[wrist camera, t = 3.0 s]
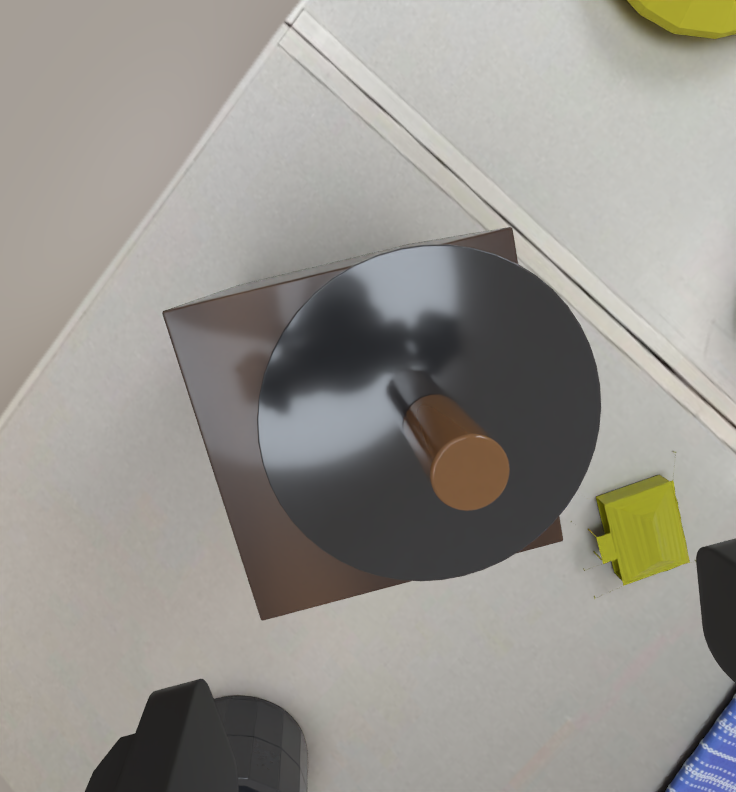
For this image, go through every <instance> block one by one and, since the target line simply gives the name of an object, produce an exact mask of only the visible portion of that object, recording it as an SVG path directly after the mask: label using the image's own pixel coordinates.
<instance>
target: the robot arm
mask: <svg viewBox="0 0 736 792" xmlns="http://www.w3.org/2000/svg"><path fill="white" fill-rule="evenodd" d="M696 564H697V574H698V584H699V594H700V605H701V615H702V625H703V632H704V636H705V639H706V642H707V645H708V647H709V649H710V651H711V653H712V655H713V657H714V658H715V660H716V662H717V663H718V665H719V666H720V667H721V668H722V670H723V671H724V672H725V673H726V674H727V675H728V676H729V677H730V678H731V679H732V680H733V681H734V682H735V683H736V539H732V540H728V541H724V542H720V543H717V544H713V545H709V546H705V547H702V548H700V549H699V551H698V552H697V557H696ZM85 792H239V788H238V774H237V768H236V762H235V758H234V755H233V752H232V749H231V746H230V744H229V741H228V738H227V735H226V732H225V730H224V727H223V724H222V721H221V719H220V716H219V713H218V710H217V707H216V705H215V702H214V699H213V696H212V694H211V691H210V688H209V686H208V684H207V683H206V681H205V680H203V679H199V680H195V681H191V682H187V683H183V684H180V685H176V686H172V687H168V688H165V689H161V690H157V691H154V692H153V693H152V694H151V695H150V696H149V699H148V701H147V704H146V706H145V709H144V712H143V714H142V717H141V720H140V722H139V725H138V728H137V730H136V733H135V734H132V735H128V736H124V737H121V738H120V739H119V740H118V741H117V742H116V744H115V745H114V746H113V747H112V749H111V750H110V751H109V752H108V754H107V755H106V756H105V758H104V759H103V760H102V761H101V763H100V764H99V765H98V766H97V768H96V769H95V770H94V772H93V774H92V776H91V778H90V781H89V783H88V785H87V788H86V790H85Z"/></svg>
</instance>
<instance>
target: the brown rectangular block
mask: <svg viewBox="0 0 736 792" xmlns="http://www.w3.org/2000/svg"><path fill="white" fill-rule="evenodd" d="M445 244H449V245H456V246H464V247H472V248H476V249H479V250H483V251H486V252H490V253H494V254H496V255H499V256H501V257H503V258H506V259H508V260H510V261H512V262H515V263H517V264H518V260H517V254H516V248H515V242H514V236H513V230H512V228H511V227H508V228H502V229H496V230H490V231H484V232H478V233H472V234H466V235H460V236H454V237H448V238H442V239H436V240H430V241H424V242H418V243H412V244H407V245H403V246H399V247H395V248H391V249H387V250H382V251H378V252H374V253H370V254H366V255H362V256H358V257H353V258H349V259H345V260H341V261H337V262H333V263H329V264H324V265H320V266H316V267H312V268H308V269H304V270H300V271H295V272H291V273H287V274H283V275H279V276H275V277H271V278H266V279H262V280H258V281H254V282H250V283H246V284H242V285H238V286H235V287H232V288H229V289H226V290H223V291H220V292H217V293H214V294H211V295H209V296H206V297H203V298H200V299H197V300H194V301H191V302H188V303H185V304H182V305H179V306H177V307H174V308H171V309H168V310H165V311H163V317H164V320H165V323H166V326H167V329H168V332H169V335H170V339H171V342H172V345H173V348H174V351H175V354H176V357H177V360H178V363H179V367H180V370H181V373H182V376H183V379H184V382H185V385H186V388H187V391H188V395H189V398H190V401H191V404H192V407H193V410H194V413H195V416H196V419H197V422H198V426H199V429H200V432H201V435H202V438H203V441H204V444H205V447H206V450H207V454H208V457H209V460H210V463H211V466H212V469H213V472H214V475H215V478H216V482H217V485H218V488H219V491H220V494H221V497H222V500H223V503H224V506H225V509H226V513H227V516H228V519H229V522H230V525H231V528H232V531H233V534H234V537H235V541H236V544H237V547H238V550H239V553H240V556H241V559H242V562H243V565H244V568H245V572H246V575H247V578H248V581H249V584H250V587H251V590H252V593H253V596H254V600H255V603H256V606H257V609H258V612H259V615H260V618H261V620H266V619H270V618H274V617H278V616H282V615H285V614H289V613H293V612H297V611H300V610H304V609H308V608H312V607H315V606H319V605H323V604H327V603H331V602H334V601H338V600H342V599H346V598H349V597H353V596H357V595H361V594H364V593H368V592H372V591H376V590H380V589H383V588H387V587H391V586H395V585H398V584H402V583H406V582H410V581H409V580H397V579H392V578H386V577H381V576H377V575H374V574H370V573H367V572H364V571H361V570H358V569H356V568H354V567H352V566H349V565H347V564H345V563H343V562H341V561H339V560H337V559H336V558H334V557H333V556H331V555H329V554H328V553H326V552H325V551H323V550H322V549H321V548H319V547H318V546H317V545H316V544H314V543H313V542H312V541H311V540H310V539H308V538H307V537H306V536H305V535H304V534H303V533H302V532H301V531H300V529H299V528H298V527H297V526H296V525H295V524H294V523H293V522H292V521H291V519H290V518H289V516H288V515H287V514H286V512H285V511H284V509H283V508H282V506H281V505H280V503H279V502H278V500H277V498H276V496H275V494H274V492H273V490H272V488H271V486H270V484H269V481H268V478H267V475H266V472H265V469H264V466H263V463H262V458H261V453H260V448H259V443H258V429H257V413H258V400H259V394H260V389H261V385H262V380H263V375H264V372H265V369H266V367H267V364H268V361H269V359H270V356H271V353H272V351H273V349H274V347H275V345H276V343H277V341H278V339H279V337H280V335H281V334H282V332H283V330H284V328H285V327H286V326H287V324H288V323H289V321H290V320H291V319H292V317H293V316H294V314H295V313H296V312H297V310H298V309H299V308H300V307H301V306H302V305H303V304H304V303H305V302H306V301H307V300H308V298H309V297H310V296H311V295H312V294H313V293H314V292H315V291H317V290H318V289H319V288H320V287H322V286H323V285H324V284H325V283H327V282H328V281H329V280H330V279H331V278H333V277H334V276H336V275H338V274H339V273H341V272H342V271H344V270H346V269H347V268H349V267H351V266H352V265H354V264H356V263H359V262H361V261H363V260H365V259H368V258H370V257H372V256H375V255H378V254H381V253H385V252H388V251H391V250H395V249H398V248H405V247H412V246H419V245H445ZM561 541H563V536H562V530H561V524H560V517H559V516H558V518H557V519H556V520H555V521H554V522H553V524H552V525H550V526H549V527H548V528H547V529H546V530H545V531H544V532H543V533H542V534H541V535H540V536H539V537H538V538H537V539H535V540H534V541H533V542H531V543H530V544H529V545H527V546H526V547H525V548H523V549H522V550H521V551H519V552H523V551H527V550H530V549H534V548H538V547H542V546H545V545H549V544H553V543H557V542H561ZM519 552H517V553H519Z"/></svg>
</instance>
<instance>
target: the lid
mask: <svg viewBox="0 0 736 792" xmlns="http://www.w3.org/2000/svg"><path fill="white" fill-rule="evenodd" d="M600 414H601V395H600V383H599V377H598V372H597V366H596V362H595V359H594V356H593V353H592V350H591V347H590V344H589V342H588V340H587V338H586V336H585V334H584V332H583V330H582V327H581V325H580V324H579V322H578V321H577V319H576V318H575V316H574V315H573V313H572V312H571V310H570V309H569V307H568V306H567V305H566V304H565V302H564V301H563V300H562V299H561V298H560V297H559V296H558V295H557V294H556V292H555V291H554V290H553V289H552V288H550V287H549V286H548V285H547V284H546V283H544V282H543V281H542V280H541V279H540V278H538V277H537V276H536V275H535V274H533V273H531V272H530V271H528V270H526V269H525V268H523V267H522V266H520V265H518V264H517V263H515V262H512V261H510V260H508V259H506V258H503V257H501V256H499V255H496V254H494V253H490V252H486V251H483V250H479V249H476V248H472V247H464V246H456V245H449V244H445V245H419V246H412V247H405V248H398V249H395V250H391V251H388V252H385V253H381V254H378V255H375V256H372V257H370V258H368V259H365V260H363V261H361V262H359V263H356V264H354V265H352V266H351V267H349V268H347V269H346V270H344V271H342V272H341V273H339V274H338V275H336V276H334V277H333V278H331V279H330V280H329V281H328V282H327V283H325V284H324V285H323V286H322V287H320V288H319V289H318V290H317V291H315V292H314V293H313V294H312V295H311V296H310V297H309V298H308V300H307V301H306V302H305V303H304V304H303V305H302V306H301V307H300V308H299V309H298V310H297V312H296V313H295V314H294V316H293V317H292V319H291V320H290V321H289V323H288V324H287V326H286V327H285V328H284V330H283V332H282V334H281V335H280V337H279V339H278V341H277V343H276V345H275V347H274V349H273V351H272V353H271V356H270V359H269V361H268V364H267V367H266V369H265V372H264V375H263V380H262V385H261V389H260V394H259V400H258V413H257V429H258V443H259V448H260V453H261V458H262V463H263V466H264V469H265V472H266V475H267V478H268V481H269V484H270V486H271V488H272V490H273V492H274V494H275V496H276V498H277V500H278V502H279V503H280V505H281V506H282V508H283V509H284V511H285V512H286V514H287V515H288V516H289V518H290V519H291V521H292V522H293V523H294V524H295V525H296V526H297V527H298V528H299V529H300V531H301V532H302V533H303V534H304V535H305V536H306V537H307V538H308V539H310V540H311V541H312V542H313V543H314V544H316V545H317V546H318V547H319V548H321V549H322V550H323V551H325V552H326V553H328V554H329V555H331V556H333V557H334V558H336V559H337V560H339V561H341V562H343V563H345V564H347V565H349V566H352V567H354V568H356V569H358V570H361V571H364V572H367V573H370V574H374V575H377V576H381V577H386V578H392V579H397V580H409V581H431V580H444V579H449V578H454V577H460V576H464V575H467V574H471V573H474V572H477V571H481V570H483V569H486V568H488V567H490V566H493V565H495V564H497V563H499V562H502V561H503V560H505V559H507V558H509V557H510V556H512V555H514V554H515V553H517V552H519V551H521V550H522V549H523V548H525V547H526V546H527V545H529V544H530V543H531V542H533V541H534V540H535V539H537V538H538V537H539V536H540V535H541V534H542V533H543V532H544V531H545V530H546V529H547V528H548V527H549V526H550V525H552V524H553V522H554V521H555V520H556V519H557V518H558V516H559V515H560V514H561V513H562V512H563V510H564V509H565V508H566V507H567V505H568V504H569V502H570V501H571V499H572V498H573V496H574V495H575V493H576V492H577V490H578V488H579V486H580V484H581V482H582V480H583V478H584V476H585V474H586V472H587V470H588V467H589V465H590V462H591V459H592V456H593V453H594V450H595V446H596V441H597V437H598V432H599V425H600Z"/></svg>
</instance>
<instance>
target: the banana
mask: <svg viewBox="0 0 736 792" xmlns="http://www.w3.org/2000/svg"><path fill="white" fill-rule="evenodd" d="M627 1H628V2H629V3H630V5H631V6H632V7H633V8H634V9H635V10H636V11H637V12H638V13H639V14H640V15H641V16H643V17H645V18H646V19H648V20H650V21H652V22H653V23H655V24H657V25H659V26H660V27H662V28H664V29H666V30H667V31H669V32H671V33H673V34H680V35H688V36H696V37H704V38H712V39H717V38H721V37H726V36H730V35H734V34H736V0H627Z"/></svg>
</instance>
